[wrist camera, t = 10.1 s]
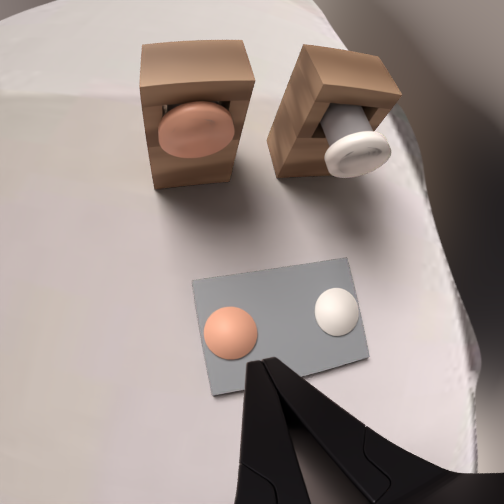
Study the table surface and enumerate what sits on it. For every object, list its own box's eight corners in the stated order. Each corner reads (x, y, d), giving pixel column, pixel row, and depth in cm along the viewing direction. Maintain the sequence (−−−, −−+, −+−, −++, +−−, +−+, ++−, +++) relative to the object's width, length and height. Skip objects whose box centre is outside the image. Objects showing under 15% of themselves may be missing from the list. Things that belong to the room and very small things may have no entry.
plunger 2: (371, 177, 22) (403, 143, 18) (318, 178, 21) (345, 140, 17) (342, 107, 24) (364, 71, 19) (293, 105, 22) (310, 63, 18)
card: (365, 356, 23) (370, 356, 22) (211, 394, 20) (212, 395, 19) (343, 259, 25) (348, 256, 24) (191, 282, 22) (191, 279, 22)
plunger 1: (229, 155, 20) (239, 109, 16) (160, 161, 19) (156, 115, 15) (216, 85, 22) (223, 41, 18) (158, 90, 21) (156, 44, 17)
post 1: (229, 181, 25) (255, 80, 15) (154, 189, 24) (139, 86, 14) (222, 142, 26) (242, 40, 16) (152, 148, 25) (142, 44, 15)
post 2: (339, 175, 28) (402, 95, 17) (276, 178, 26) (323, 83, 16) (326, 139, 29) (378, 56, 18) (266, 140, 27) (303, 44, 17)
